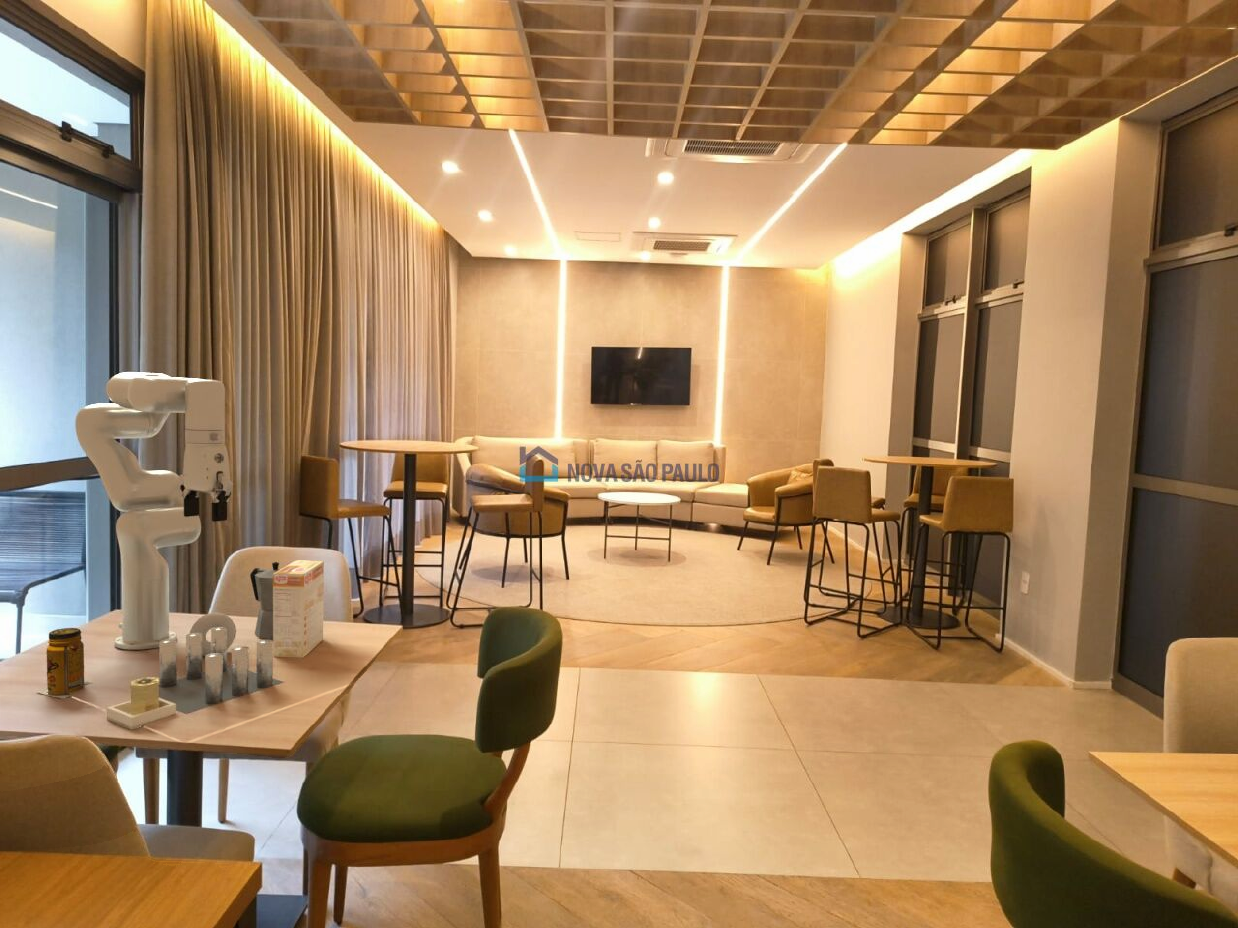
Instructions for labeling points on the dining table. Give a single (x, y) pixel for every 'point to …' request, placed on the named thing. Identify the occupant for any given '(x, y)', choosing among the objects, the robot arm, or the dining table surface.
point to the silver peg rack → (216, 664)
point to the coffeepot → (264, 600)
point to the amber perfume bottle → (144, 695)
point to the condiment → (65, 663)
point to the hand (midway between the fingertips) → (205, 518)
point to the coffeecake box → (298, 608)
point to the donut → (212, 622)
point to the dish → (123, 714)
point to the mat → (203, 691)
